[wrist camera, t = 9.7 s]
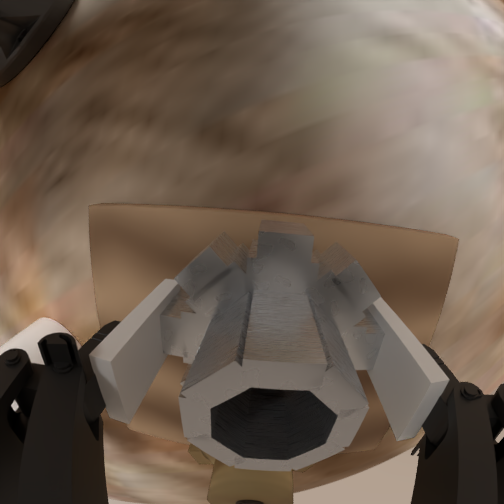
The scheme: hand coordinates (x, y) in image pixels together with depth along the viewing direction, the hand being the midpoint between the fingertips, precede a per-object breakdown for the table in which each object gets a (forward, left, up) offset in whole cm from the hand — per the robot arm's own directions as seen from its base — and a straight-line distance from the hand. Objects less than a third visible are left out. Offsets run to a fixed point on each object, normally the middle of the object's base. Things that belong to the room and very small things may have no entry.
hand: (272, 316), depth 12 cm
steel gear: (0, 0, 0) cm, 0 cm away
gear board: (+5, 0, -3) cm, 6 cm away
